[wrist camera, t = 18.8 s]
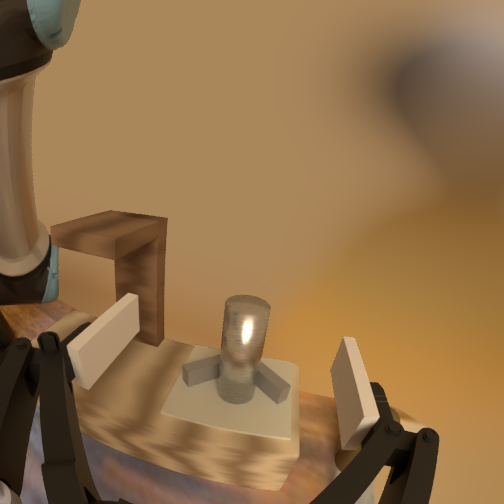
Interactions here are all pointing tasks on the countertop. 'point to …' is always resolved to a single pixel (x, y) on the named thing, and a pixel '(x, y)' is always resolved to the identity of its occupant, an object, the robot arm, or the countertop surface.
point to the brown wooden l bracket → (126, 259)
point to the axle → (242, 347)
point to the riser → (173, 418)
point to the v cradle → (226, 414)
